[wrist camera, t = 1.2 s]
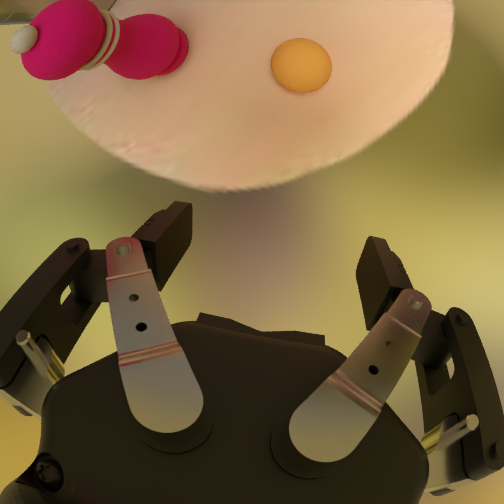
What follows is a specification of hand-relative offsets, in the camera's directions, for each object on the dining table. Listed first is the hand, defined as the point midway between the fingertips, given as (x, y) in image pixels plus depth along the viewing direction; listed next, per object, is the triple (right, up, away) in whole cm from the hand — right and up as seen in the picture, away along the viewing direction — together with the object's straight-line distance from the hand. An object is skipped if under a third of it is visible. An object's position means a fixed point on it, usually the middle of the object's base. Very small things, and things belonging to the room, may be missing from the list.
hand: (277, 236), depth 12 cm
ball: (+3, +16, +8) cm, 18 cm away
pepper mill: (-11, +21, +11) cm, 26 cm away
